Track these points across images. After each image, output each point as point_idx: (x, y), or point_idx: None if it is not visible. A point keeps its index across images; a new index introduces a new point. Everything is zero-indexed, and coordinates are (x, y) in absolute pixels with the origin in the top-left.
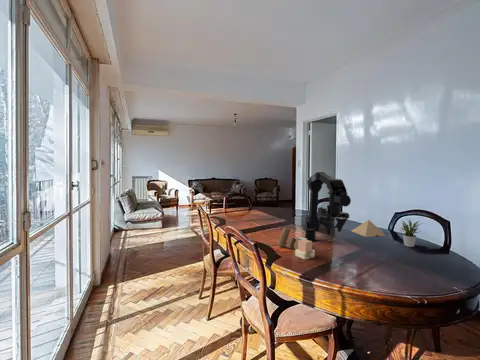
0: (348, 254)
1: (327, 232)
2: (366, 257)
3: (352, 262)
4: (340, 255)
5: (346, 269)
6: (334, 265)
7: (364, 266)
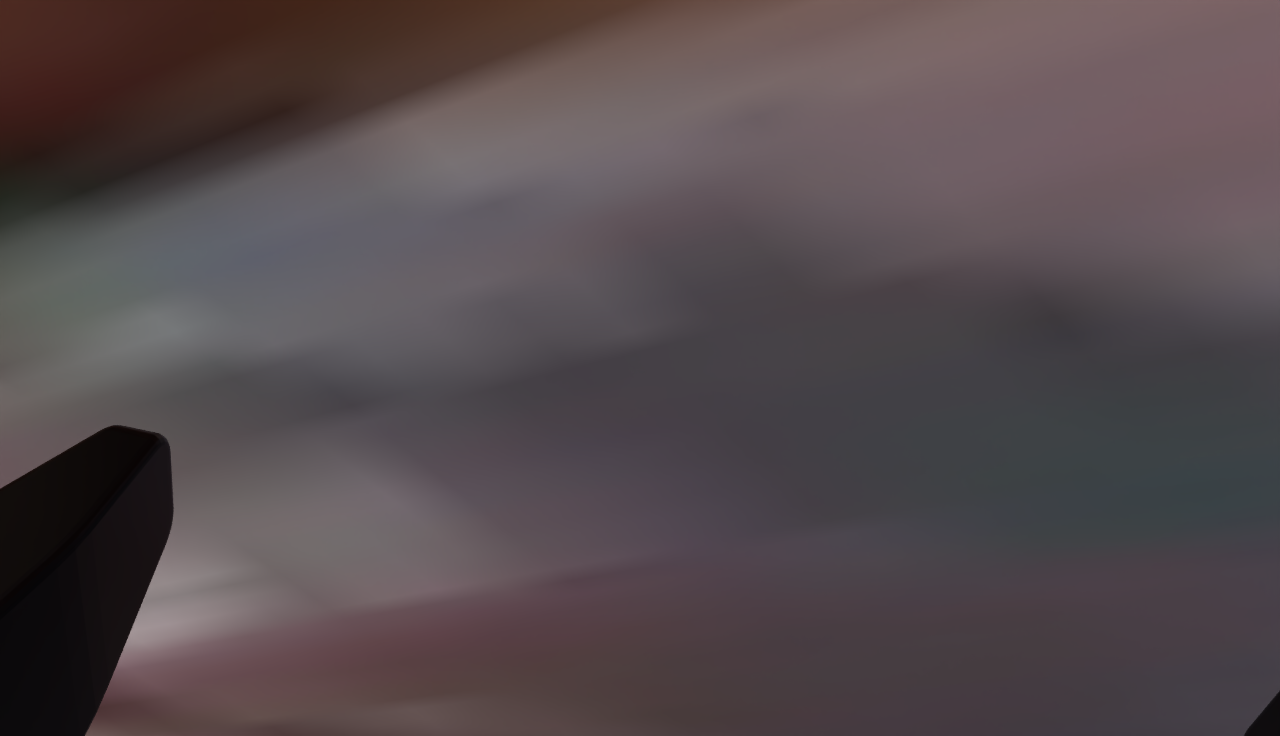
0: (1155, 322)
1: (17, 504)
2: (1126, 649)
3: (560, 523)
4: (916, 185)
5: None
6: (46, 311)
7: (505, 700)
